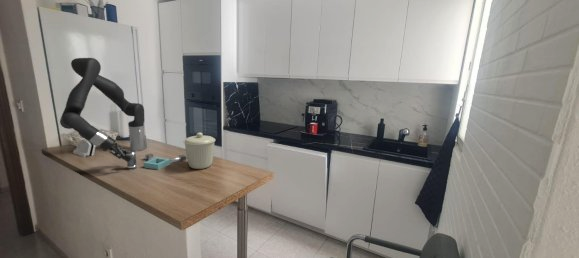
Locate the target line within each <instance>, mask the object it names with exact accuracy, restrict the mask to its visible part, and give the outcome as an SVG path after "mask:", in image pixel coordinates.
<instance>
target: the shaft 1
mask: <svg viewBox="0 0 579 258" xmlns="http://www.w3.org/2000/svg"><path fill="white" fill-rule="evenodd" d="M154 158H155V157H154V154H153V153H147V154H144V159H145V160H146V161H149V160H151V159H154Z"/></svg>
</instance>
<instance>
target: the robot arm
mask: <svg viewBox="0 0 579 258" xmlns="http://www.w3.org/2000/svg"><path fill="white" fill-rule="evenodd" d="M70 65H71V68H72V70H73V71H74V72H75V73H76V74H77V75H78V76H80V77H81V79H80V81H79V82H78V83H77V84H76V85H75V86H74V87H73V88H72V89H71V91H70V92H69V94H68V98H67V100H66V102H65V103H66V104H65V107H64V110H63V112H62V114H61V117H60V120H59V124H60V126H61V127H63V128H64V129H68V130H70V129H71V130H72V129H73V130H74V131H75V132H77V133H78V135H79V136H80V137H82V138H83V139H85V140H87V141H90V142H91V143H92V144H94V145H95V146H96V147H97V148H98V149H100V150H102V151H104V152H107V151H108V150H109V153H110V154H112V155H113V156H114V157H116V158H118V159H119V160H123V161H125V162H126V163H127V162H129V161H130V160H131V158H129V157H128V156H126V152H127V149H126V148H125V147H123V146H122V145H120V144H118V143H117V142H116V141H117V140H115V138H113V137H112V136H109V135H108V134H107V133H106V132H104V131H102V130H99V129H98V128H96V127H95V126H94V125H92V124H90V122H88V121H87V120H86V119H85V118H84V117H83V116H81V114H82V111H83V110H84V109H85V105H86V102H87V99H88V96H89V93H90V92H91V89H92V88H93V87H95V88H96V89H97V90H98V91H100V92H101V93H102V94H103V95H104V96H105V97H107V98H108V99H109V100H110V101H112V102H113V103H114V104H115V105H116V106H117V107H118V108H119V109H120V110H121V111H122V112H123V113H124V114H125V116H128V117H133V120H130V121H128V123H127V125H128V134H129V144H130V145H129V146H130V151H135V152H138V151H144V150H146V149H147V148H148V145H147V143H148V142H147V136H146V133H145V108H144V105H143V104H142V103H139V102H138V103H136V102H130V101H129V100H127V99H126V98H125V93H124V91H123V89H122V88H121V87H120V86H119V85H118V83H116V82H114V81H112V80H111V79H108V78H106V77H104V76H102V75H100V74H101V70H102V66H101V65H102V64H100V62H99V61H98V59H96V58H95V57H78V58H74V59H72V60H71V63H70Z"/></svg>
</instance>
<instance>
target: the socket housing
mask: <svg viewBox="0 0 579 258" xmlns="http://www.w3.org/2000/svg"><path fill="white" fill-rule="evenodd" d="M153 158H154V159H151V160H146V161H144V162H143V168H146V169H152V170H158V171H159V170H160V169H162V168H165V167H167V166H169V165H171V164H172V163H170V159H171V158H164V157H157V156H156V157H153Z"/></svg>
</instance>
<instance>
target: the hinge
mask: <svg viewBox="0 0 579 258" xmlns="http://www.w3.org/2000/svg"><path fill="white" fill-rule="evenodd" d="M96 147H97V146H95V145H94V144H92V143H91V142H90V141H88V140H86V139H85V140H82V139H81V140H79V141H78V143H77V145H76V148H75V149H74V150H73V151H72V152H73V154H74V155H77V156H80V157H82V158H86V156H92V157H94V156H95V151H96ZM93 155H94V156H93Z"/></svg>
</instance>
